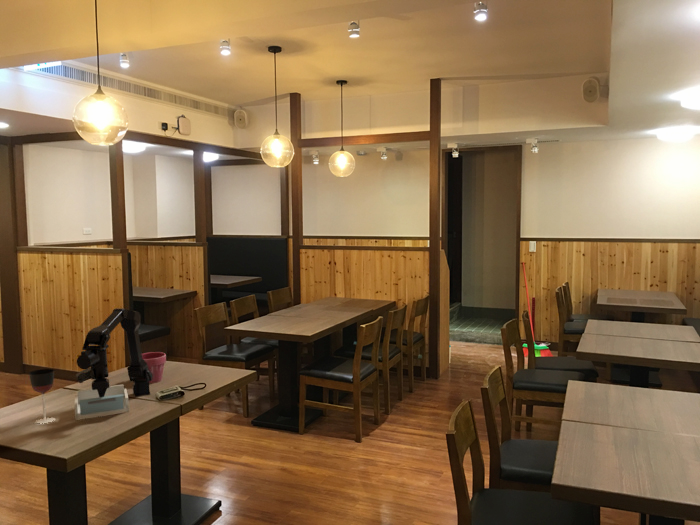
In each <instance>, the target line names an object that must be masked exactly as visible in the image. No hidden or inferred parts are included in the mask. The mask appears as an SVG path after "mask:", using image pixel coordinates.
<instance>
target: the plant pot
mask: <svg viewBox="0 0 700 525" xmlns="http://www.w3.org/2000/svg"><path fill="white" fill-rule="evenodd" d="M142 358H143V360H144V361H145V362H146V363H147V365H148V369H149V370H150V371H151V373H152V374H153V379H152V381H149V384H154V383H155V384H156V383H159V382H161V381H162V379H163V373H164V368H165V363H166V362H167V355H166V353H165V352H161V351H155V352H154V351H149V352H144V353H142Z"/></svg>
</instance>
